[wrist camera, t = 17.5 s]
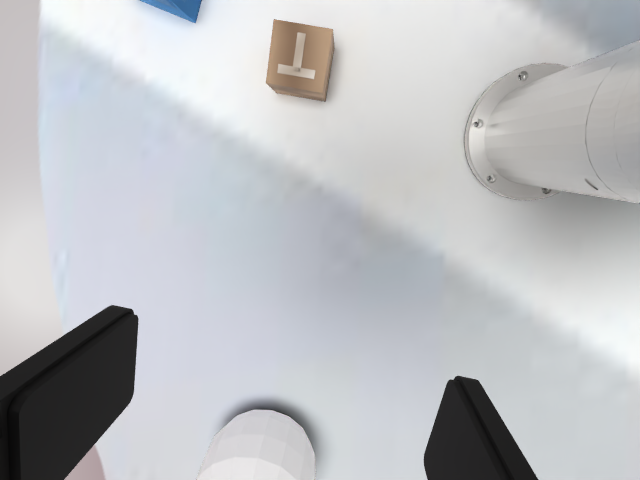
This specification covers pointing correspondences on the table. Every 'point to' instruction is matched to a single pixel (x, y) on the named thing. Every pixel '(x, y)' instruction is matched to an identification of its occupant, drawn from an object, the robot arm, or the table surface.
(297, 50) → the letter cube
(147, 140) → the table surface
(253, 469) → the white jar
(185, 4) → the perfume bottle
